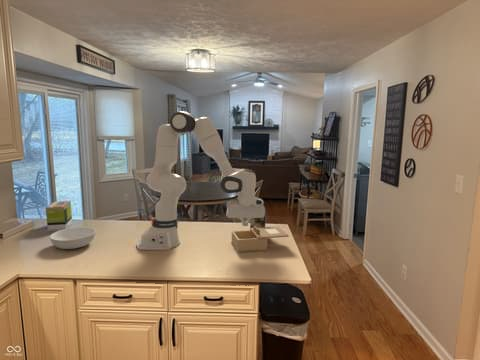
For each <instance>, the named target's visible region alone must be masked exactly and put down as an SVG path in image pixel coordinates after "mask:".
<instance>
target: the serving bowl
mask: <svg viewBox="0 0 480 360" xmlns="http://www.w3.org/2000/svg"><path fill="white" fill-rule="evenodd" d="M95 237H96V230H95V228H93V227H88V226H87V227H85V226H84V227H83V226H80V227H79V226H77V227H68V228H67V229H64V230H59V231H54V232H53V233H52V234H50V236H49V239H50V242H51V244H52V245H53V246H54V247H56V248H58V249H61V250H62V249H63V250H75V249H79V248H82V247H85V246H87V245H90V243H91V242H93V240H94V239H95Z"/></svg>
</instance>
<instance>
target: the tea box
mask: <svg viewBox="0 0 480 360" xmlns="http://www.w3.org/2000/svg"><path fill="white" fill-rule="evenodd" d="M72 211H73V210H72V201H71V200H64V201H63V200H60V201H53V202H52V203H49V204H48V205H47V206H46V207H45V215H46V227H47V231H48V232H57V231H60V230H64V229H68V228H70V226H71V224H73V214H72V213H73V212H72Z"/></svg>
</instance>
